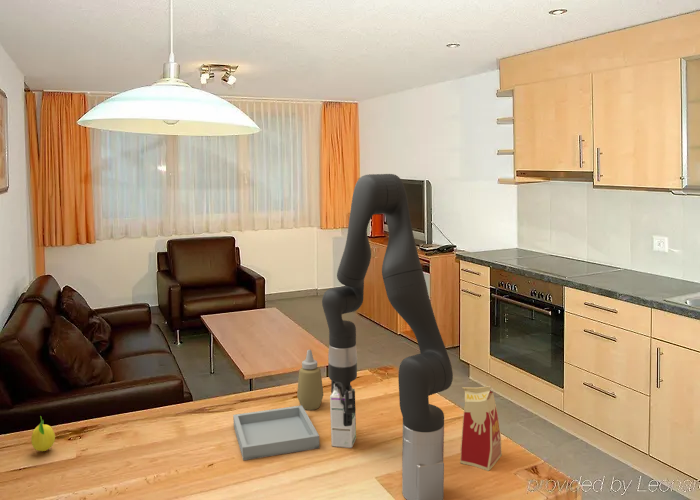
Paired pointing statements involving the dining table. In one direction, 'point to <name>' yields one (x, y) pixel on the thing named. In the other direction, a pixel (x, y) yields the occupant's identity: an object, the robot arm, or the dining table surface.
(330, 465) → the dining table surface
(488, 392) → the milk carton
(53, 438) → the lemon
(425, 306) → the robot arm
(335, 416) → the syrup box
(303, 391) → the squeeze bottle
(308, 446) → the tray
